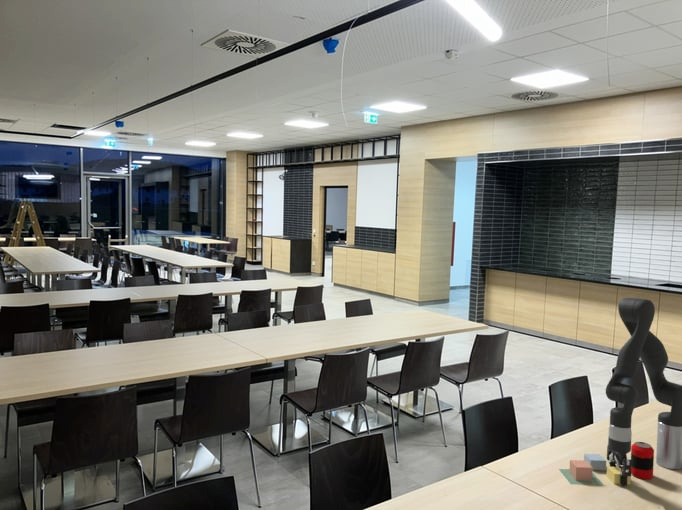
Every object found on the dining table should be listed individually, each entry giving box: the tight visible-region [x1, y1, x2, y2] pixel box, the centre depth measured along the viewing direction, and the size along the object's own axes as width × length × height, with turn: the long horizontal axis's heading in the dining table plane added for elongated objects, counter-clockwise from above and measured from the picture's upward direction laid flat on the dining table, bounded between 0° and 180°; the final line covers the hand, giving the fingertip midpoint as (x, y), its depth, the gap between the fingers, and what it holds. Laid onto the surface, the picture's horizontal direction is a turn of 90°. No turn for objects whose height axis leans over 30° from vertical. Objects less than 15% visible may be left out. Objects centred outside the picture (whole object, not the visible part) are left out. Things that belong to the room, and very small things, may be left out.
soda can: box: [630, 441, 655, 480], centre depth 203 cm, size 8×8×12 cm
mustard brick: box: [606, 466, 632, 486], centre depth 197 cm, size 6×6×5 cm
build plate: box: [558, 468, 605, 486], centre depth 199 cm, size 12×12×1 cm
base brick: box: [569, 459, 594, 481], centre depth 199 cm, size 6×6×5 cm
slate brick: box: [583, 453, 607, 471], centre depth 208 cm, size 6×6×5 cm
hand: (617, 479), depth 197 cm, fingers open, 8 cm apart
